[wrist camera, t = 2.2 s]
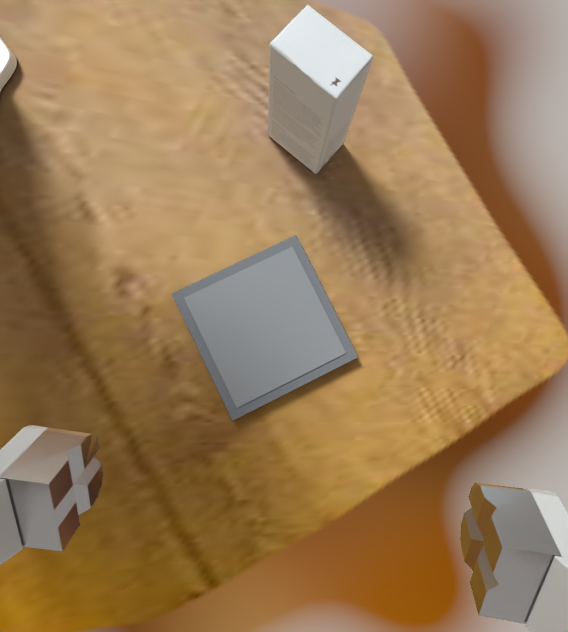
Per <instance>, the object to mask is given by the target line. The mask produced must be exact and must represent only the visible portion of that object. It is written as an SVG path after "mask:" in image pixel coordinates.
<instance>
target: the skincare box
mask: <svg viewBox="0 0 568 632" xmlns="http://www.w3.org/2000/svg"><path fill="white" fill-rule="evenodd" d="M372 59H373V56H372V55H371V54H370V53H369V52H367V51H366V50H365V49H363V48H362V47H361V46H360V45H358V44H357V43H356V42H355V41H353V40H352V39H351V38H349V37H348V36H347V35H346V34H344V33H343V32H342V31H340V30H339V29H338V28H337V27H335V26H334V25H333V24H331V23H330V22H329V21H328V20H326V19H325V18H324V17H323V16H321V15H320V14H319V13H317V12H316V11H315V10H314V9H312V8H311V7H310V6H309V5H307V6H306V7H305V8H304V9H303V10H302V11H301V12H300V13H299V14H298V15H297V16H296V17H295V18H294V19H293V20H292V21H291V22H290V23H289V24H288V25H287V26H286V27H285V28H284V29H283V30H282V31H281V33H280V34H279V35H278V36H277V37H276V38H275V39H274V40H273V41H272V42H271V43H270V62H269V105H268V136H270V137H271V138H272V139H273V140H275V141H276V142H277V143H278V144H279V145H281V146H282V147H283V148H284V149H286V150H287V151H288V152H289V153H290V154H292V155H293V156H294V157H295V158H297V159H298V160H299V161H300V162H301V163H303V164H304V165H305V166H306V167H308V168H309V169H310V170H311V171H312V172H314V173H315V174H317V173H318V172H319V171H320V170H321V168H322V167H323V166H324V165H325V164H326V163H327V162H328V161H329V159H330V158H331V157H332V156H333V155H334V153H335V152H336V151H337V150H338V149H339V148H340V147H341V146H342V145H343V143H344V141H345V138H346V135H347V132H348V129H349V126H350V123H351V120H352V117H353V115H354V112H355V109H356V106H357V103H358V100H359V97H360V94H361V92H362V89H363V86H364V83H365V80H366V77H367V74H368V71H369V68H370V65H371V62H372Z"/></svg>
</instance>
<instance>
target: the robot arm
mask: <svg viewBox="0 0 568 632" xmlns="http://www.w3.org/2000/svg"><path fill="white" fill-rule="evenodd" d="M16 66H17V60H16V57H15V55H14V54H13V53H12V51H11V50H10V49H9V47H8V46H7V45H6V43H5V42H4V41H3V39H2V38H1V37H0V92H1V90H2V88H3V87H4V85H5V84H6V83H7V81H8V80H9V79H10V77H11V76H12V74H13V72H14V71H15V69H16ZM98 450H99V444H98V438H97V436H95V435H93V434H90V433H83V432H77V431H70V430H64V429H57V428H47V427H41V426H35V425H29V426H26V427H23V428H22V429H21V430H20V431H19V432H18V433H17V434H16V435H15V436H14V437H13V438H12V439H11V440H10V441H9V442H8V443H7V444H6V445H5V446H4V447H3V448H2V449H1V450H0V565H1V564H3V563H4V562H5V561H7V560H8V559H10V558H11V557H12V556H14V555H15V554H17V553H18V552H19V551H21V550H22V549H23V547H30V548H39V549H47V550H55V551H63V550H64V548H65V547H66V545H67V544H68V542H69V541H70V539H71V538H72V536H73V535H74V533H75V532H76V530H77V529H78V527H79V526H80V522H79V516H78V515H80V514H82V513H83V512H85V511H87V510H88V509H90V508H91V507H92V505H93V504H94V502H95V500H96V499H97V497H98V494H99V491H100V488H101V485H102V477H103V471H102V464H101V463H100V462H99V461H98V460H97V459H96V457H95V454H96V453H97V452H98ZM469 500H470V503H471V506H472V508H471V509H469V510H468V511H466V512H465V513H464V515H463V520H462V523H461V537H460V540H461V548H462V553H463V557H464V561H465V563H466V564H467V565H468V566H469V567H470V568H471V569H472V570H473V574H472V577H471V581H470V585H471V588H472V591H473V596H474V599H475V603H476V607H477V611H478V614H479V615H480V616H485V617H491V618H496V619H502V620H507V621H513V622H518V623H524V624H526V625H525V626H526V628H527V629H528V630H529V631H530V632H568V514H567V512H566V510H565V509H564V507H563V505H562V503H561V501H560V499H559V498H558V496H557V495H556V494H555V493H554V492H552V491H544V490H535V489H523V488H515V487H506V486H498V485H490V484H481V483H475V484H474V485H473V486H472V488H471V491H470V494H469Z"/></svg>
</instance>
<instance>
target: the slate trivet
mask: <svg viewBox="0 0 568 632" xmlns="http://www.w3.org/2000/svg"><path fill="white" fill-rule="evenodd" d="M172 296H173V298H174V300H175V302H176V304H177V306H178V308H179V310H180V312H181V314H182V316H183V319H184V321H185V323H186V325H187V327H188V329H189V331H190V333H191V335H192V337H193V339H194V342H195V344H196V346H197V348H198V350H199V352H200V354H201V356H202V358H203V360H204V363H205V365H206V367H207V369H208V371H209V373H210V375H211V377H212V379H213V381H214V383H215V386H216V388H217V390H218V392H219V394H220V396H221V398H222V400H223V402H224V404H225V406H226V409H227V411H228V413H229V415H230V417H231V419H232V421H233V420H235V419H237V418H239V417H241V416H243V415H245V414H247V413H249V412H251V411H253V410H255V409H257V408H259V407H261V406H263V405H265V404H267V403H269V402H271V401H273V400H275V399H277V398H279V397H281V396H283V395H285V394H287V393H288V392H290V391H292V390H294V389H296V388H298V387H300V386H302V385H304V384H306V383H308V382H310V381H312V380H314V379H316V378H318V377H320V376H322V375H324V374H326V373H328V372H330V371H332V370H334V369H336V368H338V367H340V366H342V365H344V364H346V363H348V362H350V361H352V360H354V359H356V358H358V356H357V354H356V352H355V350H354V348H353V346H352V344H351V342H350V340H349V338H348V336H347V334H346V332H345V330H344V328H343V326H342V324H341V322H340V320H339V318H338V316H337V314H336V312H335V310H334V308H333V306H332V304H331V302H330V301H329V299H328V297H327V295H326V293H325V291H324V289H323V287H322V285H321V283H320V281H319V279H318V277H317V275H316V273H315V271H314V269H313V267H312V265H311V263H310V261H309V259H308V257H307V255H306V253H305V251H304V249H303V247H302V245H301V243H300V241H299V239H298V237H297V236H296V235H295V236H293V237H291V238H289V239H287V240H285V241H282V242H280V243H278V244H276V245H274V246H272V247H270V248H268V249H265V250H263V251H261V252H259V253H257V254H255V255H253V256H251V257H249V258H246V259H244V260H242V261H240V262H238V263H236V264H234V265H232V266H229V267H227V268H225V269H223V270H221V271H219V272H217V273H215V274H212V275H210V276H208V277H206V278H204V279H202V280H200V281H198V282H195V283H193V284H191V285H189V286H187V287H185V288H183V289H181V290H178V291H176V292H174V293H172Z"/></svg>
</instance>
